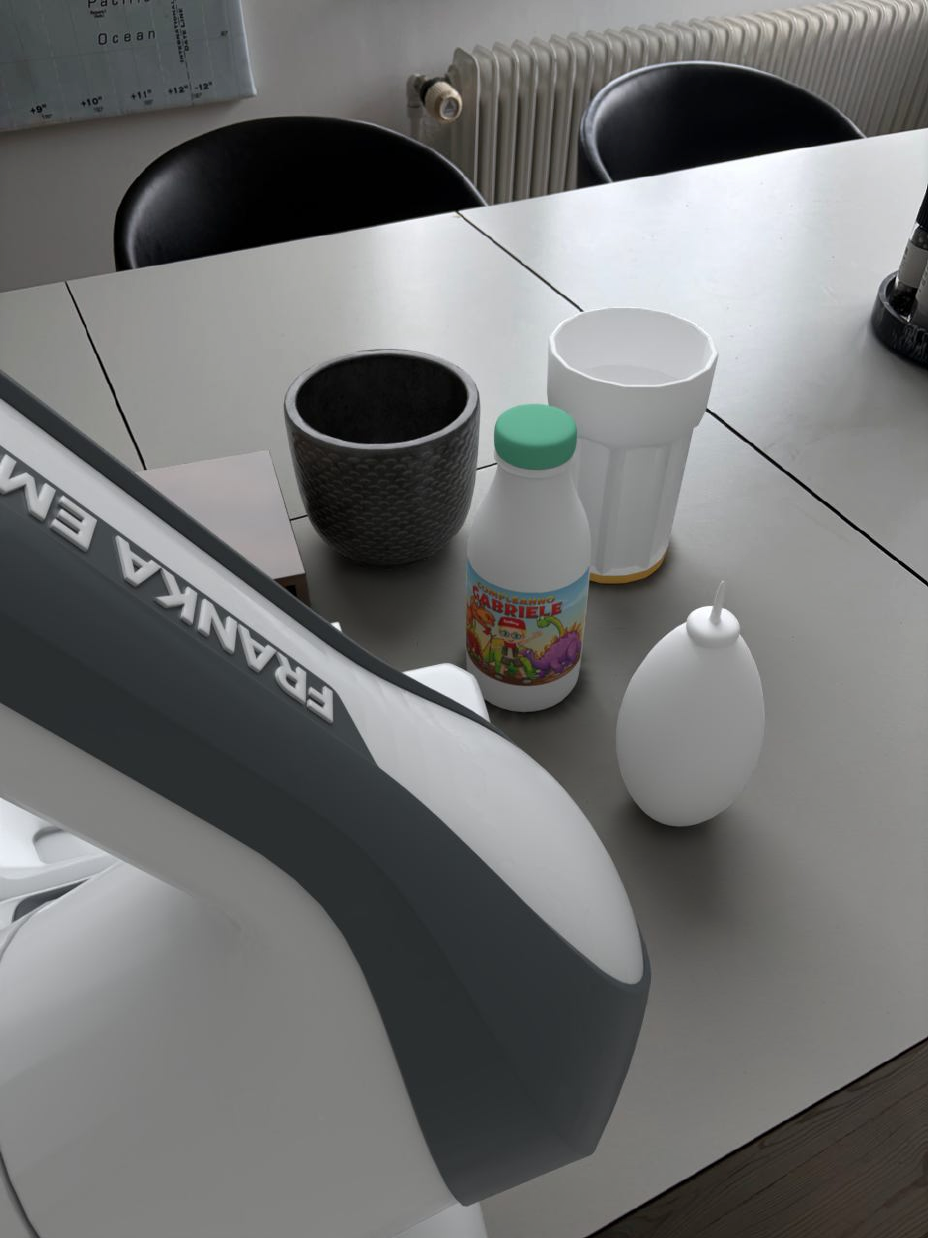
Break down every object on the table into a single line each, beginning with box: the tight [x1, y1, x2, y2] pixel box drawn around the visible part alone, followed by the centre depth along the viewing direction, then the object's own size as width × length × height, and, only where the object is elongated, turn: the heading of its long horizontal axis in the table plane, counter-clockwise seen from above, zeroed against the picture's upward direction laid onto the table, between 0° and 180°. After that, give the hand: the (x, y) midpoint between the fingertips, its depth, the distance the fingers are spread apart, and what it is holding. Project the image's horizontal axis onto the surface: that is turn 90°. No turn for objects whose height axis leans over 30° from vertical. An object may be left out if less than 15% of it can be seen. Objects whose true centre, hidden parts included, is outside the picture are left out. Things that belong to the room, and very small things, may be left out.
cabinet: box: [134, 449, 312, 609], centre depth 70 cm, size 15×12×9 cm
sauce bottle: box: [615, 580, 766, 827], centre depth 55 cm, size 8×8×18 cm
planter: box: [283, 348, 481, 571], centre depth 75 cm, size 14×14×13 cm
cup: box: [546, 306, 719, 584], centre depth 73 cm, size 11×11×17 cm
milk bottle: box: [465, 403, 591, 713], centre depth 62 cm, size 8×8×20 cm
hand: (217, 656), depth 44 cm, fingers open, 8 cm apart
